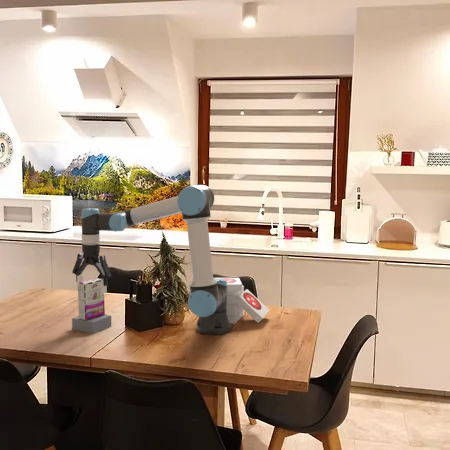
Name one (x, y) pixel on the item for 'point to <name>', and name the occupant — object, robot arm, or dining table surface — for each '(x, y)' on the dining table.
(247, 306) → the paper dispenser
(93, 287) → the candy bar box
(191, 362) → the dining table surface
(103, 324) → the grey block
